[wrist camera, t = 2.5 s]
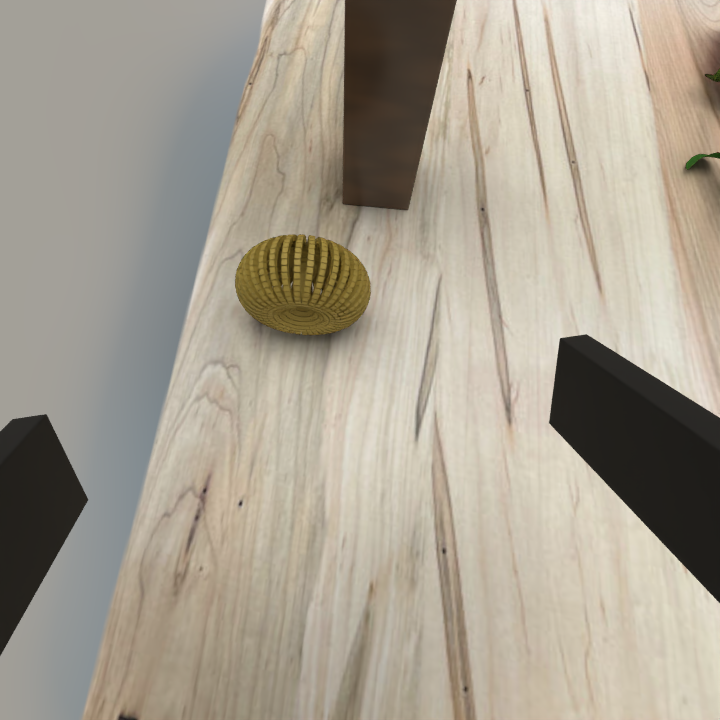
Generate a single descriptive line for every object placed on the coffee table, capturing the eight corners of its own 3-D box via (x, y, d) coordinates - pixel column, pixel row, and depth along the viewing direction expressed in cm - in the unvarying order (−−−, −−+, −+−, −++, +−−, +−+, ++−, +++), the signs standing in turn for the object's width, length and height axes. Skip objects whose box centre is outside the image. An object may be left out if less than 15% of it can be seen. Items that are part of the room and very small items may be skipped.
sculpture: (246, 340, 29) (213, 282, 22) (253, 287, 31) (225, 214, 23) (365, 347, 30) (374, 291, 22) (367, 293, 31) (376, 223, 23)
